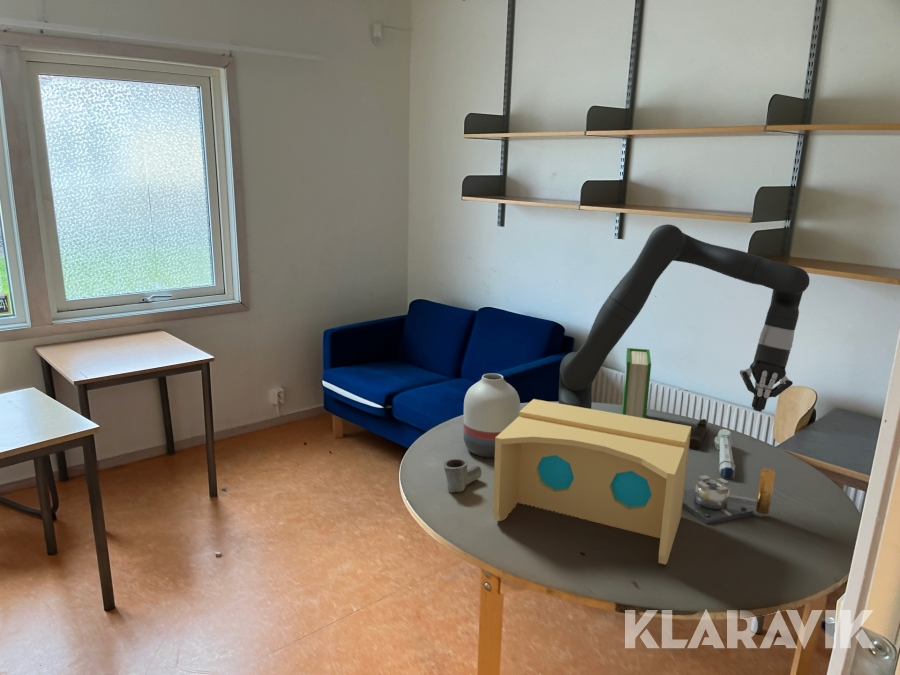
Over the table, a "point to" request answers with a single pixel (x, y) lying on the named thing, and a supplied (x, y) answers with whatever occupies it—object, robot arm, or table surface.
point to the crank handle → (718, 495)
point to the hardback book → (636, 382)
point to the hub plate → (714, 510)
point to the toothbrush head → (725, 454)
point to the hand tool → (698, 435)
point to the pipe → (460, 474)
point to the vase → (488, 413)
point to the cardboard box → (594, 468)
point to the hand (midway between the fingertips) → (756, 410)
